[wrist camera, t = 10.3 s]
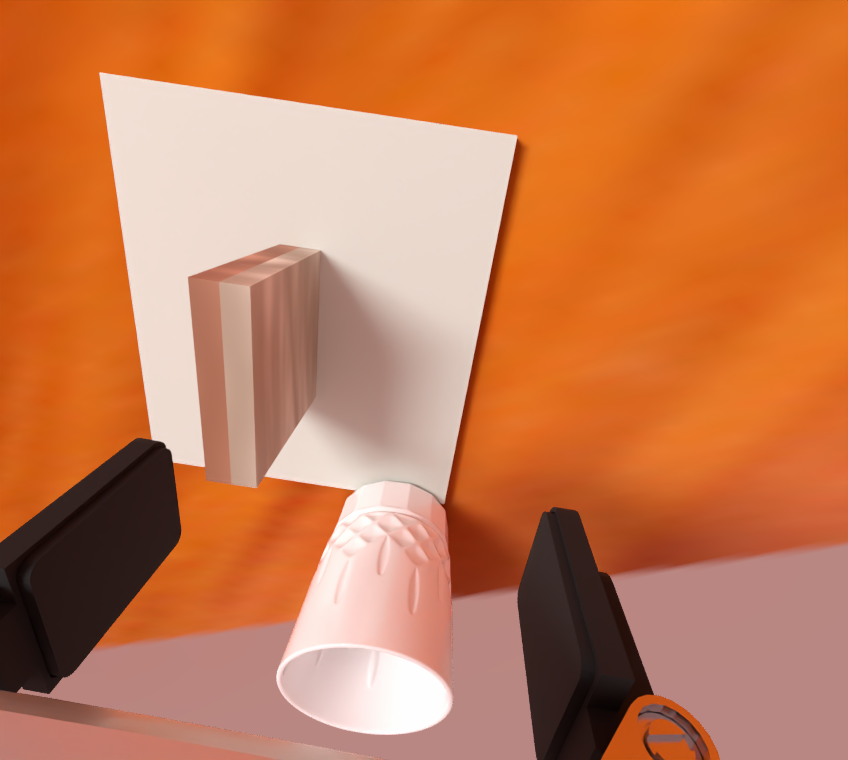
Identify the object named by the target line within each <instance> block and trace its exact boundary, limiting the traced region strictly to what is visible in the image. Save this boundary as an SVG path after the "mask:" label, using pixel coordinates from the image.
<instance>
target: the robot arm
mask: <svg viewBox="0 0 848 760" xmlns="http://www.w3.org/2000/svg"><path fill="white" fill-rule="evenodd" d="M180 536H181V524H180V516H179V508H178V500H177V492H176V484H175V476H174V468H173V460H172V453H171V451H170V449H167V448H166V445H165V444H164V443H163V442H161V441H155V440H149V439H143V438H137V439H135V440H133V441H132V442H131V443H129V444H128V445H127V446H125V447H124V448H123V449H121V450H120V451H119V452H118V453H116V454H115V455H114V456H112V457H111V458H110V459H108V460H107V461H106V462H105V463H103V464H102V465H101V466H99V467H98V468H97V469H95V470H94V471H93V472H92V473H90V474H89V475H88V476H86V477H85V478H84V479H83V480H81V481H80V482H79V483H77V484H76V485H75V486H73V487H72V488H71V489H70V490H68V491H67V492H66V493H64V494H63V495H62V496H60V497H59V498H58V499H57V500H55V501H54V502H53V503H51V504H50V505H49V506H47V507H46V508H45V509H44V510H42V511H41V512H40V513H38V514H37V515H36V516H34V517H33V518H32V519H31V520H29V521H28V522H27V523H25V524H24V525H23V526H21V527H20V528H19V529H18V530H16V531H15V532H14V533H12V534H11V535H10V536H8V537H7V538H6V539H5V540H3V541H2V542H1V543H0V760H386V759H381V758H376V757H370V756H365V755H359V754H354V753H348V752H344V751H339V750H333V749H328V748H323V747H317V746H312V745H307V744H301V743H296V742H290V741H285V740H279V739H274V738H269V737H263V736H258V735H253V734H247V733H242V732H236V731H230V730H225V729H220V728H214V727H209V726H203V725H198V724H192V723H187V722H181V721H176V720H170V719H165V718H159V717H153V716H148V715H142V714H137V713H131V712H125V711H119V710H114V709H109V708H103V707H97V706H91V705H86V704H80V703H74V702H69V701H63V700H57V699H52V698H46V697H40V696H34V695H28V694H21V693H17V691H18V690H19V689H20V688H21V687H23V689H25V690H30V691H36V692H41V693H47V694H50V692H51V691H52V690H53V689H54V688H55V686H56V685H57V684H58V683H59V681H60V680H61V679H62V678H63V677H68V676H70V675H71V674H72V673H73V672H74V671H75V670H76V669H77V668H78V667H79V665H80V664H81V663H82V662H83V660H84V659H85V658H86V657H87V655H88V654H89V653H90V652H91V650H92V649H93V648H94V647H95V645H96V644H97V643H98V642H99V641H100V639H101V638H102V637H103V636H104V634H105V633H106V632H107V631H108V629H109V628H110V627H111V626H112V624H113V623H114V622H115V621H116V619H117V618H118V617H119V616H120V614H121V613H122V612H123V611H124V609H125V608H126V607H127V606H128V604H129V603H130V602H131V601H132V599H133V598H134V597H135V596H136V595H137V593H138V592H139V591H140V590H141V588H142V587H143V586H144V585H145V583H146V582H147V581H148V580H149V578H150V577H151V576H152V575H153V573H154V572H155V571H156V570H157V568H158V567H159V566H160V565H161V563H162V562H163V561H164V560H165V558H166V557H167V556H168V555H169V553H170V552H171V551H172V550H173V549H174V547H175V546H176V545H177V543H178V541H179V539H180ZM518 611H519V619H520V627H521V635H522V643H523V652H524V661H525V669H526V676H527V685H528V694H529V702H530V710H531V719H532V726H533V734H534V743H535V751H536V757H537V760H720V759H719V755H718V752H717V750H716V748H715V745H714V744H713V742H712V740H711V738H710V736H709V735H708V733H707V732H706V731H705V729H704V728H703V727H702V725H701V724H700V723H699V722H698V721H697V720H696V719H695V718H694V717H693V716H692V715H691V714H690V713H689V712H687V710H685V709H684V708H682V707H681V706H679V705H678V704H676V703H675V702H673V701H671V700H669V699H666V698H664V697H661V696H656V695H654V694H653V691H652V688H651V686H650V683H649V680H648V677H647V675H646V672H645V669H644V667H643V664H642V661H641V658H640V656H639V653H638V650H637V648H636V645H635V642H634V639H633V636H632V634H631V631H630V628H629V626H628V623H627V620H626V617H625V615H624V612H623V609H622V607H621V604H620V601H619V598H618V595H617V593H616V590H615V587H614V585H613V582H612V580H611V578H610V576H609V575H608V574H607V573H603V572H598V569H597V566H596V563H595V560H594V557H593V554H592V551H591V548H590V545H589V542H588V539H587V536H586V533H585V531H584V528H583V525H582V522H581V519H580V516H579V514H578V512H577V511H575V510H569V509H563V508H557V507H553V508H552V509H551V511H550V512H544V513H543V514H542V517H541V520H540V523H539V526H538V529H537V532H536V536H535V539H534V542H533V545H532V548H531V551H530V555H529V558H528V561H527V564H526V567H525V570H524V574H523V577H522V580H521V583H520V586H519V590H518Z"/></svg>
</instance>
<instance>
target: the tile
mask: <svg viewBox="0 0 848 760" xmlns="http://www.w3.org/2000/svg"><path fill="white" fill-rule="evenodd" d="M320 261H321V250H316V249H309V248H303V247H296V246H289V245H282V244H279V245H276V246H273V247H270V248H268V249H265V250H262V251H259V252H256V253H254V254H251V255H248V256H245V257H242V258H240V259H237V260H234V261H231V262H228V263H226V264H223V265H220V266H217V267H215V268H212V269H209V270H206V271H203V272H201V273H198V274H195V275H192V276H189V277H188V285H189V296H190V307H191V318H192V329H193V340H194V351H195V362H196V373H197V384H198V395H199V406H200V417H201V428H202V439H203V450H204V461H205V472H206V481H213V482H220V483H226V484H233V485H239V486H246V487H253V488H257V487H258V485H259V484H260V482H261V481H262V479H263V478H264V476H265V474H266V473H267V471H268V470H269V468H270V467H271V465H272V464H273V462H274V461H275V459H276V458H277V456H278V454H279V453H280V451H281V450H282V448H283V447H284V445H285V444H286V442H287V441H288V439H289V438H290V436H291V434H292V433H293V431H294V430H295V428H296V427H297V425H298V424H299V422H300V421H301V419H302V418H303V416H304V414H305V413H306V411H307V410H308V408H309V407H310V405H311V404H312V402H313V401H314V399H315V398H316V378H317V349H318V319H319V290H320Z"/></svg>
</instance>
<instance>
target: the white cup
mask: <svg viewBox="0 0 848 760" xmlns="http://www.w3.org/2000/svg"><path fill="white" fill-rule="evenodd" d="M452 648H453V647H452V602H451V576H450V555H449V552H448V525H447V519H446V512H445V509H444V508H443V507H442V506H441V505H440V504H439V502H438V501H437V500H436V499H435V498H434V496H433V495H432V494H430V493H428V492H426V491H424V490H422V489H420V488H418V487H416V486H414V485H412V484H409V483H401V482H394V481H381V482H377V483H372V484H368V485H364V486H362V487H361V488H359V489H358V490H357V491H355V492H354V493H353V494H352V495H350V496H349V497H348V498H347V499H346V502H345V504H344V507H343V510H342V513H341V515H340V518H339V521H338V524H337V526H336V528H335V530H334V533H333V534H332V536H331V537H330V539H329V540H328V543H327V546H326V548H325V550H324V553H323V555H322V557H321V560H320V562H319V566H318V569H317V571H316V573H315V575H314V577H313V579H312V582H311V584H310V587H309V590H308V592H307V595H306V598H305V600H304V603H303V606H302V608H301V611H300V614H299V616H298V619H297V621H296V624H295V627H294V629H293V632H292V634H291V637H290V640H289V642H288V645H287V648H286V650H285V653H284V655H283V658H282V660H281V663H280V666H279V668H278V671H277V677H276V679H277V685H278V688H279V690H280V692H281V693H282V695H283V696H284V697H285V698H286V700H287V701H288V702H289V703H290V704H292V705H293V706H294V707H295V708H297V709H298V710H299V711H301V712H302V713H304V714H306V715H308V716H309V717H311V718H313V719H315V720H318V721H320V722H322V723H325V724H328V725H331V726H334V727H337V728H341V729H344V730H349V731H354V732H359V733H366V734H378V735H393V734H394V735H395V734H405V733H412V732H416V731H420V730H424V729H427V728H429V727H431V726H434V725H436V724H437V723H439V722H440V721H442V720H443V719H444V718H445V717H446V716H447V715H448V714H449V712H450V711H451V708H452V706H453V649H452Z"/></svg>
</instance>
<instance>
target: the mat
mask: <svg viewBox="0 0 848 760" xmlns="http://www.w3.org/2000/svg"><path fill="white" fill-rule="evenodd" d="M99 73H100V72H99ZM100 80H101V87H102V94H103V101H104V108H105V115H106V122H107V129H108V136H109V143H110V150H111V157H112V164H113V171H114V178H115V185H116V192H117V199H118V205H119V212H120V219H121V226H122V233H123V240H124V247H125V254H126V261H127V268H128V275H129V282H130V289H131V296H132V303H133V310H134V317H135V324H136V331H137V338H138V345H139V352H140V359H141V366H142V373H143V380H144V387H145V394H146V401H147V408H148V415H149V422H150V429H151V436H152V440H155V441H161V442H163V443H164V444H165V445H166V448H167V449H170V451H171V453H172V460H173V462H175V463H181V464H188V465H194V466H201V467H205V461H204V450H203V439H202V428H201V417H200V406H199V395H198V384H197V373H196V362H195V351H194V340H193V329H192V318H191V307H190V296H189V285H188V277H189V276H192V275H195V274H198V273H201V272H203V271H206V270H209V269H212V268H215V267H217V266H220V265H223V264H226V263H228V262H231V261H234V260H237V259H240V258H242V257H245V256H248V255H251V254H254V253H256V252H259V251H262V250H265V249H268V248H270V247H273V246H276V245H279V244H282V245H289V246H296V247H303V248H309V249H316V250H321V261H320V290H319V319H318V349H317V378H316V398H315V399H314V401H313V402H312V404H311V405H310V407H309V408H308V410H307V411H306V413H305V414H304V416H303V418H302V419H301V421H300V422H299V424H298V425H297V427H296V428H295V430H294V431H293V433H292V434H291V436H290V438H289V439H288V441H287V442H286V444H285V445H284V447H283V448H282V450H281V451H280V453H279V454H278V456H277V458H276V459H275V461H274V462H273V464H272V465H271V467H270V468H269V470H268V471H267V473H266V474H265V477H272V478H278V479H285V480H291V481H298V482H304V483H311V484H317V485H324V486H330V487H337V488H343V489H349V490H356V491H357V490H358V489H359V488H361V487H362V486H364V485H368V484H372V483H377V482H381V481H394V482H401V483H409V484H412V485H414V486H416V487H418V488H420V489H422V490H424V491H426V492H428V493H430V494H432V495H433V496H434V498H435V499H436V500H437V501H438V502H439V503H440V504H444V503H445V498H446V493H447V488H448V483H449V478H450V473H451V468H452V463H453V458H454V453H455V448H456V443H457V438H458V433H459V428H460V423H461V417H462V412H463V407H464V402H465V397H466V392H467V387H468V382H469V377H470V372H471V367H472V362H473V357H474V352H475V347H476V342H477V337H478V332H479V327H480V322H481V317H482V312H483V307H484V302H485V297H486V292H487V287H488V282H489V277H490V272H491V267H492V262H493V257H494V252H495V247H496V242H497V237H498V232H499V227H500V222H501V217H502V212H503V206H504V201H505V196H506V191H507V186H508V181H509V176H510V171H511V166H512V161H513V156H514V151H515V146H516V141H517V136H516V135H510V134H503V133H496V132H490V131H483V130H477V129H470V128H463V127H457V126H450V125H444V124H437V123H430V122H424V121H417V120H411V119H404V118H397V117H391V116H384V115H377V114H371V113H364V112H358V111H351V110H344V109H338V108H331V107H325V106H318V105H311V104H305V103H298V102H292V101H285V100H278V99H272V98H265V97H258V96H252V95H245V94H239V93H232V92H225V91H219V90H212V89H206V88H199V87H192V86H186V85H179V84H173V83H166V82H159V81H153V80H146V79H139V78H133V77H126V76H120V75H113V74H106V73H100Z"/></svg>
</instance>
